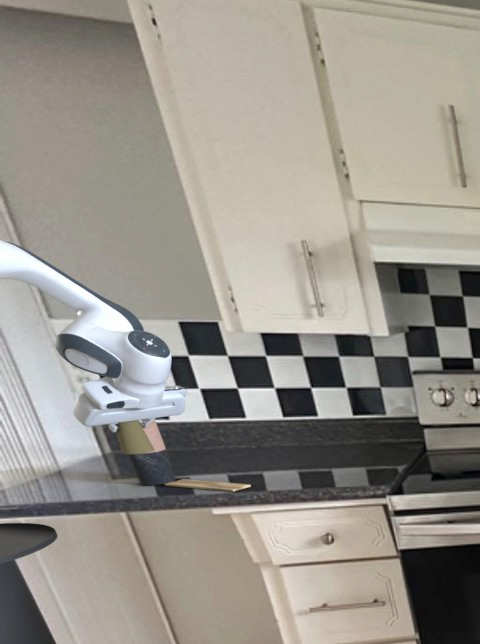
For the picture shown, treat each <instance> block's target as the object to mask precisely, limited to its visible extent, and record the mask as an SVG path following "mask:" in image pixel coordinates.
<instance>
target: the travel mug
mask: <svg viewBox="0 0 480 644" xmlns="http://www.w3.org/2000/svg"><path fill="white" fill-rule="evenodd" d="M143 430H144V432H145V433H146V435H147V437H148V439H149V441H150V442H151V444H152V446H153V448H154V451H152V452H147V453H140V454H127V456H128V459H129V461H130V463H131V466H132V468H133V470H134V473H135V475H136V477H137V479H138V482H139V484H140V485H142V486H161V485H165V484H166V483H170V482H174V481H177V479H176V475H175V472H174V469H173V466H172V463H171V459H170V456H169V453H168V451H167V447H166V445H165V442H164V440H163V438H162V435H161V432H160V429H159V426H158V424H157V422H156V419H155V420H153V421H152V422H151V423H149V424H148V427H147V428H143Z"/></svg>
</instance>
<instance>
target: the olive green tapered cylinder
mask: <svg viewBox="0 0 480 644" xmlns="http://www.w3.org/2000/svg"><path fill="white" fill-rule="evenodd" d="M118 424H119V425H120V426H121V427H122V428H121V430H120V431H118V432H117V437H118V441H119V446H120V452H121V454H122V455H128V454H140V453H147V452H152V451H154V448H153V446H152V444H151V442H150V441H149V439H148V437H147V435H146V433H145V432H144V430H143V428H142V426H141V424H140V423H139V421H138V420H135V421H127V422H120V423H118Z"/></svg>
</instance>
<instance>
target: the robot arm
mask: <svg viewBox="0 0 480 644" xmlns="http://www.w3.org/2000/svg"><path fill="white" fill-rule="evenodd" d="M0 280H15V281H19V282H22V283H26V284H28V285H31V286H33V287H35V288H36V289H38V290H40V292H43V293H45V294H46V295H48V296H50V298H53V299H54V300H56V301H57V302H59V303H61V304H63V305H64V306H66V307H67V308H69V309H71V310H72V311H74V312H75V314H76V315H77V317H76V318H75V319H73V321H71V322H70V323H69V324H67V325H66V326H65V327H64V328H63V329H62V330H61V331H60V332H59V333H58V334H57V335H55V336H54V339H53V345H54V348H55V349H56V351H57V353H58V354H59V356H61V358H62V359H63V360H65V362H67V363H69V365H71V366H74V367H75V368H77V369H80V370H81V371H84V372H88V373H90V374H95V375H99V376H100V377H102V378H98V379H94V380H90V381H87V382H84V383H82V384H81V390H82V393H81V394H79V395H78V397H77V398H76V400H75V402H74V406H73V413H72V414H73V416H74V418H75V419H76V420H77V421H78V422H79V423H80V424H81V425H82V426H85V427H95V426H96V427H97V426H103V425H108V429H109V430H110V431H111V433H118V431H120V430H121V428H122V427H121V426H120V425H119V424H118V423H120V422H127V421H135V420H138V421H139V423H140V424H141V426H142V428H147V427H148V424H149V423H151V422H152V421H153V420H155V421H156V419H157V418H165V417H174V416H180V415H182V414H183V413H184V412H185V411H186V410H185V408H186V398H185V397H186V396H187V394H188V389H187V388H186V387H184V386H181V385H173V386H166V381H167V380H168V378H169V376H170V373H171V368H172V359H173V358H172V351H171V348H170V347H169V345H168V344H167V342H165V341H164V340H163V339H162V338H161V337H160V336H158V335H156V334H154V333H152V332H149V331H145V329H144V326H143V324H142V323H141V321H140V320H139V319H138V317H137V316H136V315H135V314H134V313H133V312H131V310H130V309H128V308H127V307H124V306H123V305H120V304H119V303H116V302H114V301H112V300H110V299H107V298H106V297H104V296H103V295H101V294H99V293H97V292H95V291H94V290H92V289H90V288H89V287H87V286H86V285H84V284H83V283H81V282H80V281H78V280H76V279H75V278H73V277H72V276H70V275H68V274H67V273H65V272H64V271H62V270H61V269H59V268H58V267H56V266H54V265H53V264H51V263H50V262H49V261H46V260H45V259H43V258H42V257H40V256H38V255H37V254H35V253H33V252H31V251H30V250H28V249H26V248H24V247H22V246H21V245H18V244H16V243H14V242H11V241H4V240H1V239H0Z"/></svg>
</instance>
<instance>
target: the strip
mask: <svg viewBox="0 0 480 644" xmlns="http://www.w3.org/2000/svg"><path fill="white" fill-rule="evenodd" d="M164 486H165V487H174V488H186V489H187V488H188V489H197V490H198V489H199V490H211V491H223V492H233V493H234V492H237V491H240V490H244V489H247V488H251V487H252V485H251V484H247V483H235V482H224V481H213V480H212V481H211V480H199V479H188V478H182V479H179V480H175V481H173V482H170V483H166V484H164Z"/></svg>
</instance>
